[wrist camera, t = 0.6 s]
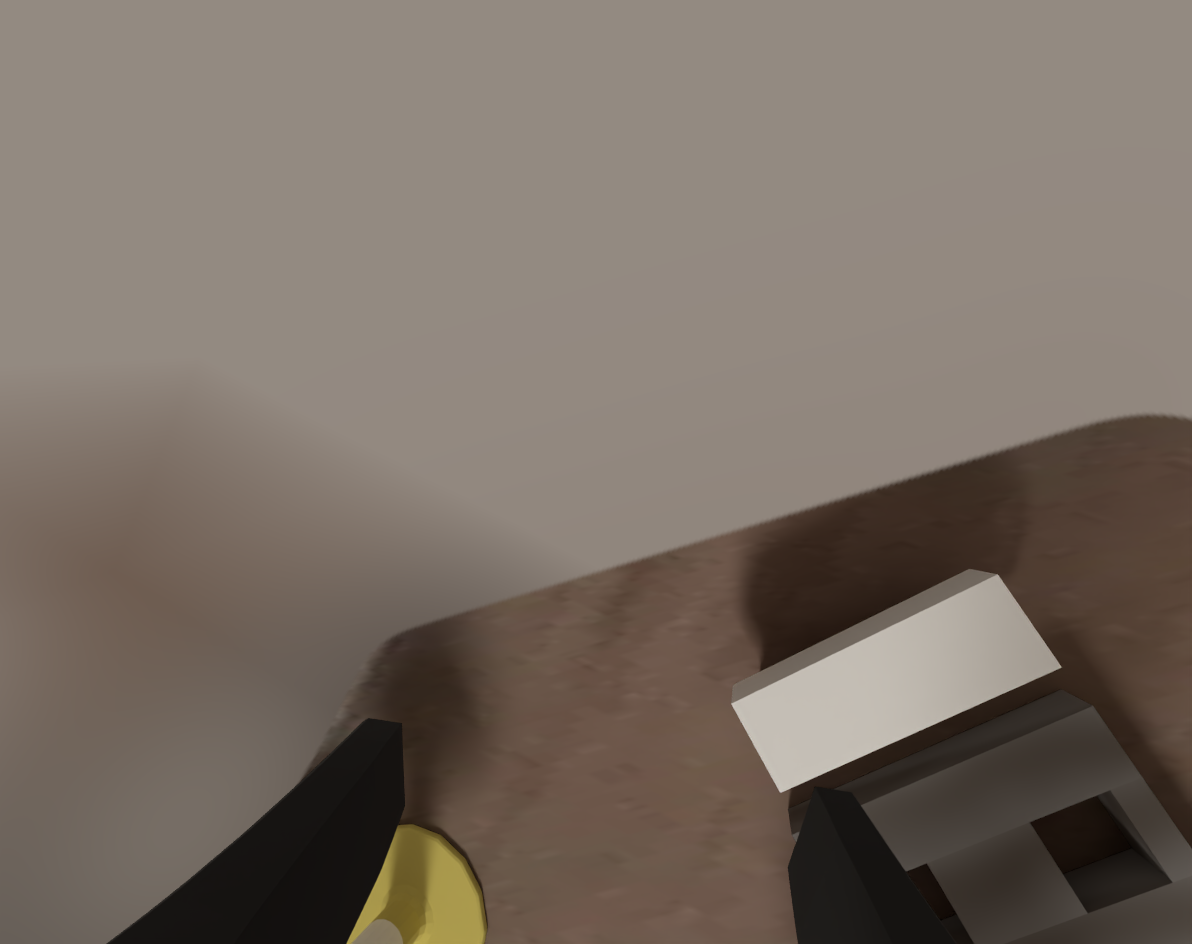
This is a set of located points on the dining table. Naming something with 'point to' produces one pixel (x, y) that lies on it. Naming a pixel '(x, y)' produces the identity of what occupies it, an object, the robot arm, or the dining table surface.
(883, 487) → the dining table surface
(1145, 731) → the dining table surface
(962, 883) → the socket board
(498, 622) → the dining table surface
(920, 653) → the cream rectangular block
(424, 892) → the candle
